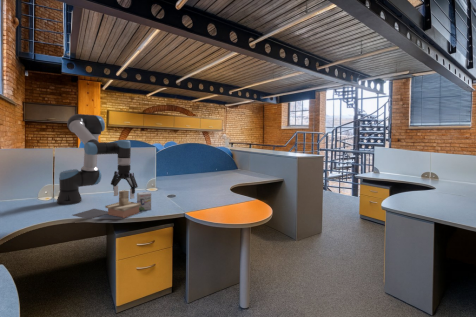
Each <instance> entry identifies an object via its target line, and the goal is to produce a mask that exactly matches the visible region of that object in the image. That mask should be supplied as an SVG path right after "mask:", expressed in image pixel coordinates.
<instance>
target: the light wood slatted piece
mask: <svg viewBox="0 0 476 317" xmlns="http://www.w3.org/2000/svg"><path fill="white" fill-rule="evenodd" d="M129 199H130V190H126V189H125V190H124V189H123V190H118V202H115V203H111V204H108V205H105V206H104V207H105V209H108V208H109V209H114V210H119V211H126V210H129V209H132V208H135V207H138V206H141V204H140V203H137V202H135V201H129Z"/></svg>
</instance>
